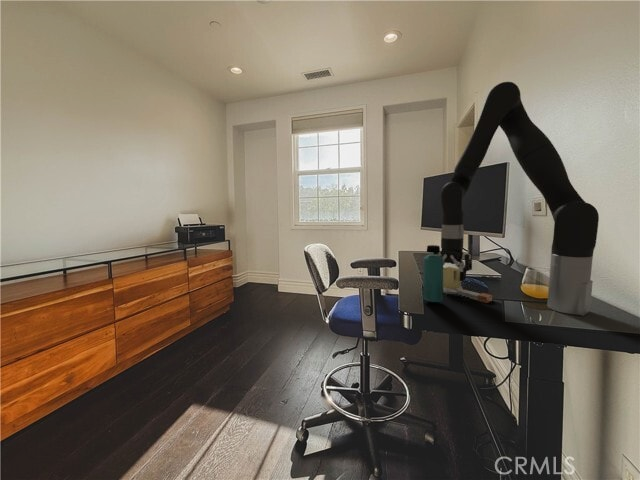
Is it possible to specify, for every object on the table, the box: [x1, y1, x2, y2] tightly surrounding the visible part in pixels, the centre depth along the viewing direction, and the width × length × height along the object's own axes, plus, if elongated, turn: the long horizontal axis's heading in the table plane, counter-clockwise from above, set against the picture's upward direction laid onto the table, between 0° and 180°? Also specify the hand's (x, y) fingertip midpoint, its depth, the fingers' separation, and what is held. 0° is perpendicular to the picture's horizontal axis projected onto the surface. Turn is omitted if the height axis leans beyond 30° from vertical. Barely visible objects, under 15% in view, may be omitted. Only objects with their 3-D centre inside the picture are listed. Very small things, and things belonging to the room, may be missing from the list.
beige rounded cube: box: [443, 266, 462, 290], centre depth 103 cm, size 5×5×7 cm
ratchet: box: [443, 286, 493, 304], centre depth 99 cm, size 18×8×5 cm, turn 33°
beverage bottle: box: [422, 244, 444, 303], centre depth 91 cm, size 6×7×20 cm
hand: (451, 278), depth 103 cm, fingers open, 8 cm apart
